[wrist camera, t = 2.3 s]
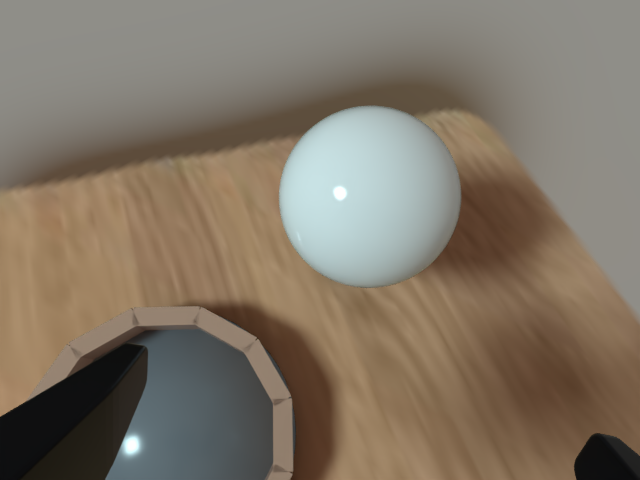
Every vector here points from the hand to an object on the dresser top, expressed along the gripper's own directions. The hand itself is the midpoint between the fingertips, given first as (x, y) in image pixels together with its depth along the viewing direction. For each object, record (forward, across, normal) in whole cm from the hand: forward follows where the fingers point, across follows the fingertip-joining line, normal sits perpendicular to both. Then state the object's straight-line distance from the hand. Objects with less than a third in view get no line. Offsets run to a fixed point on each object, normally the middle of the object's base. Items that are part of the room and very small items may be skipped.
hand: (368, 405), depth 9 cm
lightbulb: (+14, 0, +4) cm, 15 cm away
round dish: (+7, +6, +11) cm, 15 cm away
